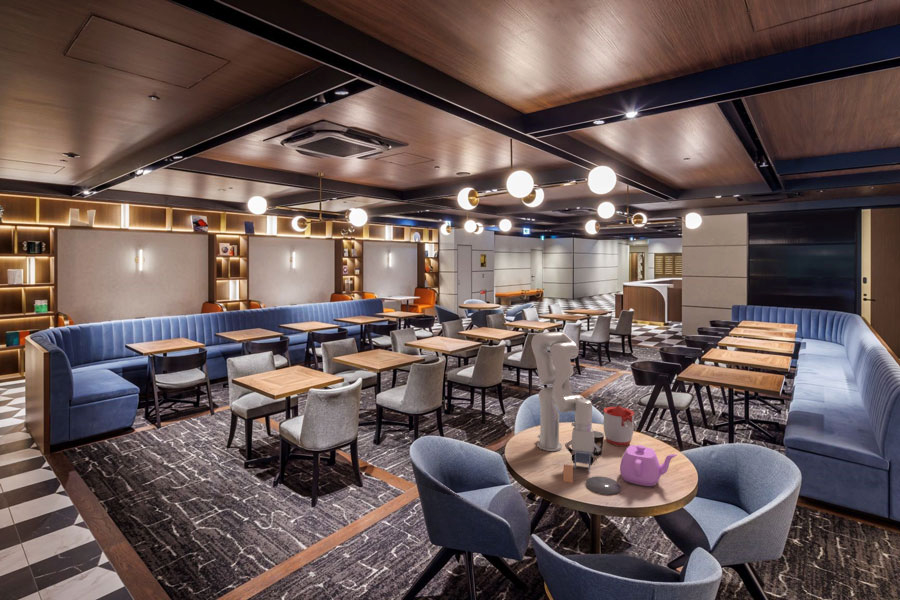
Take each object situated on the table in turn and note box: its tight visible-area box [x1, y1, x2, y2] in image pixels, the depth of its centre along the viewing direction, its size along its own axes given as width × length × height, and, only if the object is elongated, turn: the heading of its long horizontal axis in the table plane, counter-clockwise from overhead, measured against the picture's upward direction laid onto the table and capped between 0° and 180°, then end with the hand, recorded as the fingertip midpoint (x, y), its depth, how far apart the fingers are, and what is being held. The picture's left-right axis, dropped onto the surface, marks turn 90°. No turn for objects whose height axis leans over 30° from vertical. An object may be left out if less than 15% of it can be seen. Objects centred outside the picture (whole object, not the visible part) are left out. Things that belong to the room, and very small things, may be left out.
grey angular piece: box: [574, 451, 591, 471], centre depth 210 cm, size 7×7×8 cm
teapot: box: [619, 444, 678, 487], centre depth 196 cm, size 23×21×15 cm
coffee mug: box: [593, 430, 605, 457], centre depth 227 cm, size 12×9×10 cm
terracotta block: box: [562, 464, 574, 483], centre depth 199 cm, size 4×4×6 cm
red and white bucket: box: [602, 405, 635, 447], centre depth 239 cm, size 16×17×20 cm
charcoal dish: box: [585, 475, 622, 496], centre depth 193 cm, size 14×14×1 cm
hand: (582, 462), depth 210 cm, fingers closed on grey angular piece, 7 cm apart
